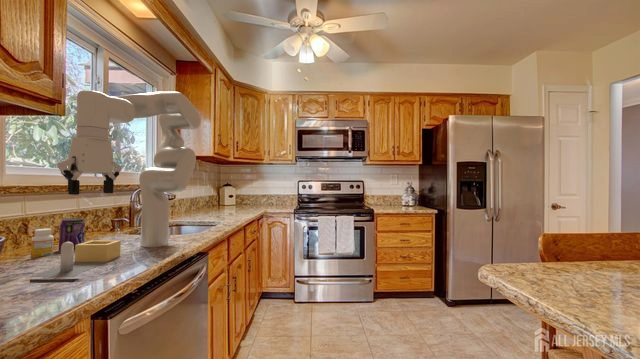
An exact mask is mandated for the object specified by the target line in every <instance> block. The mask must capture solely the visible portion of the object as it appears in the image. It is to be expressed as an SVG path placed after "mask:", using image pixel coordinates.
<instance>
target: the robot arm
mask: <svg viewBox="0 0 640 359" xmlns="http://www.w3.org/2000/svg"><path fill="white" fill-rule="evenodd" d="M155 116H158V120H159V121H158V122H159V126H160V129H161V132H162V139H161V142H160V144H159V146H158V148H157V149H156V153H155V155H154V157H153V164H154V166H155V167H148V168H145V169H143V171H141V173H140V175H139V176H138V177H139V178H138V182H139V187H140V192H141V216H140V243H139V244H138V245H137V246H138V247H139V246H140V247H142V248H155V247H156V248H157V247H164V246H166V247H167V246H168V247H169V246H171V247H172V246H173V243H172V242H169V239H170V238H171V235H170V234H169V231H170V230H169V229H170V225H169V224H170V201H169V198H168V197H167V195H166V193H181V192H184V191H185V190H186V189H187V187H188V186H189V184H190V181H191V178H192V176H193V172H194V170H195V167H196V164H197V163H196V162H197V157H196V156H197V155H196V153H195V151H194V150H193V149H192V148H190V147H186V146H185V141H184V138H183V137H182V135H181V134H180V132H178V130H196V129H198V128H199V127H200V126H201V123H202V122H201V116H200V113H199V112H198V110H197V109H196V107H195V106H194V105H193V103H192V102H191V101H190V100H189V99H188V97H187V96H186V95H185V94H183V93H182V92H179V91H154V92H147V93H146V92H144V93H134V94H133V93H132V94H125V95H114V96H109V95H107V94H106V93H103V92H101V91H96V90H90V89H89V90H88V89H85V90H84V89H83V90H79V91H78V92H77V95H76V131H75V132H76V135H75V136H76V137H72V140H71V143H70V147H69V152H68V157H67V159H65V160H63V161H60V162H57V164H56V166H57V168H58V169H59V171H60V174H61V175H62V176H63V177H64V178H65V180H66V181H67V191H68V192H67V194H68V195H71V196H75V195H76V196H78V195H80V186H81V185H80V180H79V178H80V177H81V175H82V174H90V175H92V174H94V175H95V174H96V175H97V174H98V175H102V176H103V178H104V179H105V180H103V186H102V187H103V191H102V192H103V194H114V188H115V187H114V184H115V183H114V181H116V180H117V177H118V176H119V175H120V172H121V171H122V168H123V166H121V165H120V164H119V163H117V162H115V161H114V152H113V146H112V141H111V140H110V139H112V137H113V134H112V133H110V123H111V124H126V123H127V124H128V123H130V122H132V121H133V120H135V119H146V118H151V117H155Z"/></svg>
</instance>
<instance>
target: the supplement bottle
mask: <svg viewBox="0 0 640 359" xmlns="http://www.w3.org/2000/svg"><path fill="white" fill-rule="evenodd" d="M30 241H31V243H30V259H34V258H35V259H36V258H39V257H45V256H51V255H53V254H54V246H55V237H54V235H52V228H38V229H34V236H32V237H31V240H30Z"/></svg>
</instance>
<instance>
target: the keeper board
mask: <svg viewBox="0 0 640 359" xmlns="http://www.w3.org/2000/svg"><path fill="white" fill-rule="evenodd" d="M74 255H75V249H74V244H73V243H72V242H65V243H63V244H62V246H61V250H60V264H59V265H60V266H56V267H53V268H50V269H48V270H44V271H42V272H39V273H36V274H34V275H31V276H30V279H29V283H30V284H31V283H34V284H37V283H38V284H39V283H41V284H44V283H74V282H76V281H79V280H80V278H64V277H75V276H78V275H80V274H83V273H84V272H87V271H90V270H91V269H93V268H96V267H99V266H101V265H104V264H106V263H108V262H111V261H113V260H115V259H119V258H121V257H123V256H124V255H125V256H126V253H120V256H119V257H116V258H114V259H111V260H109V261H100V262H75V260H74ZM43 277H44V278H43ZM47 277H51V278H50V279H49V278H48V279H47ZM54 277H55V278H54ZM56 277H57V278H56ZM58 277H60V278H59V279H58ZM61 277H63V278H61ZM31 278H35V279H31ZM36 278H37V279H36ZM38 278H39V279H38ZM42 278H43V279H42Z"/></svg>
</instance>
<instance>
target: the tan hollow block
mask: <svg viewBox="0 0 640 359" xmlns="http://www.w3.org/2000/svg"><path fill="white" fill-rule="evenodd" d="M121 241H122V240H88V241H84V243H81V244H77V245H75V249H74V261H75V262H100V261H109V260H111V259H113V260H115V259H114V258H116V257H118V258H120V257H119V256H120V254H121ZM116 259H117V258H116ZM111 261H112V260H111ZM109 262H110V261H109Z"/></svg>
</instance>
